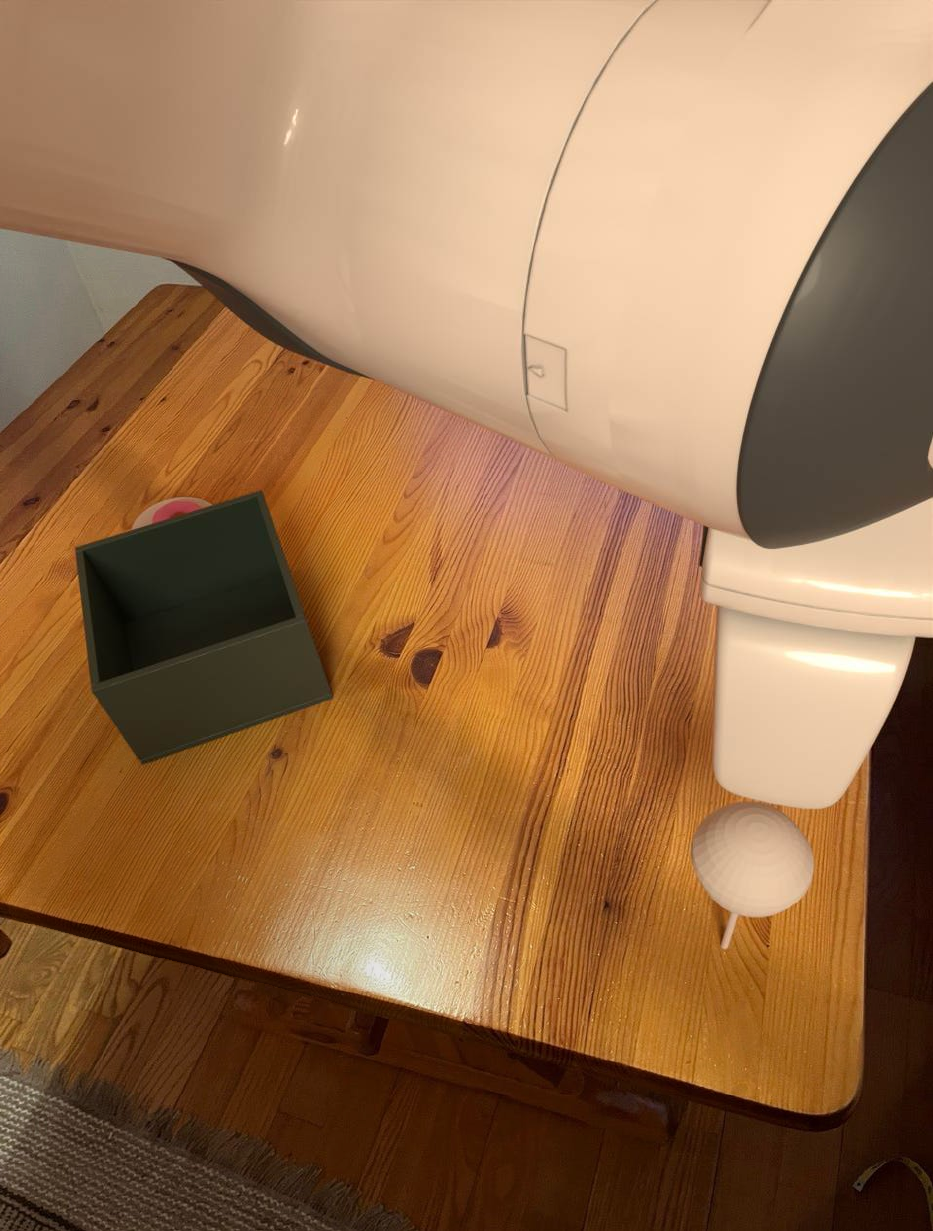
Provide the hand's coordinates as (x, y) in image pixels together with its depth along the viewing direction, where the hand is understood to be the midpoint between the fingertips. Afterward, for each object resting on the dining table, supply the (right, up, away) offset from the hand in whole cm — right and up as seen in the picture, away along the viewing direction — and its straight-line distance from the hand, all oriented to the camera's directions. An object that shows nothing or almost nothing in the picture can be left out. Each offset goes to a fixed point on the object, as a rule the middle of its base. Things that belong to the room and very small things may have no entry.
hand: (771, 659), depth 39 cm
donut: (-41, +9, +48) cm, 64 cm away
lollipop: (+3, -19, +19) cm, 27 cm away
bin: (-33, -2, +38) cm, 50 cm away
